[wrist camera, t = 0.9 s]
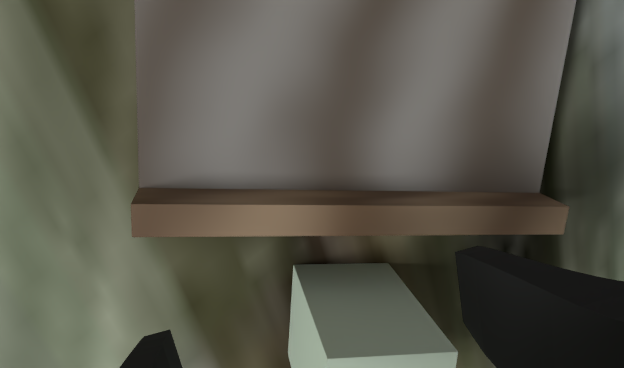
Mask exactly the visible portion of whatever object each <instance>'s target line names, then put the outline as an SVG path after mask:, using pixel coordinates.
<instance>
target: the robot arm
mask: <svg viewBox="0 0 624 368" xmlns="http://www.w3.org/2000/svg"><path fill="white" fill-rule="evenodd" d="M455 254H456V263H457V272H458V280H459V289H460V298H461V307H462V315H463V322H464V324H465V325H466V327H467V328H468V330H469V331H470V333H471V334H472V336H473V338H474V339H475V341H476V342H477V344H478V345H479V346H480V348H481V349H482V351H483V352H484V354H485V355H486V356H487V357H488V358H489V360H490V361H491V362H492V363H493V364H494V365H495V366H496V368H624V282H623V281H617V280H612V279H606V278H601V277H596V276H592V275H588V274H583V273H579V272H575V271H571V270H567V269H563V268H559V267H555V266H551V265H548V264H544V263H541V262H537V261H534V260H530V259H527V258H523V257H520V256H516V255H513V254H509V253H506V252H502V251H498V250H495V249H491V248H486V247H481V246H476V247H472V248H468V249H465V250H461V251H457V252H455ZM120 368H182V365H181V362H180V359H179V356H178V353H177V350H176V347H175V343H174V340H173V337H172V334H171V331H170V330H166V331H163V332H159V333H155V334H152V335H148V336H144V337H143V338H142V339H141V341H140V342H139V343H138V344H137V345H136V347H135V348H134V349H133V351H132V352H131V353H130V355H129V356H128V357H127V358H126V360H125V361H124V362H123V364H122V365H121V366H120Z"/></svg>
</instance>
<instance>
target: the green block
mask: <svg viewBox="0 0 624 368" xmlns="http://www.w3.org/2000/svg"><path fill="white" fill-rule="evenodd" d="M457 355H458V351H457V350H456V349H455V347H454V346H453V345H452V343H451V342H450V341H449V340H448V338H447V337H446V336H445V335H444V333H443V332H442V331H441V329H440V328H439V327H438V326H437V324H436V323H435V322H434V321H433V319H432V318H431V317H430V316H429V314H428V313H427V312H426V310H425V309H424V308H423V307H422V305H421V304H420V303H419V302H418V300H417V299H416V298H415V296H414V295H413V294H412V293H411V291H410V290H409V289H408V288H407V286H406V285H405V284H404V283H403V281H402V280H401V279H400V277H399V276H398V275H397V274H396V272H395V271H394V270H393V269H392V267H391V266H390V265H389V263H359V264H303V265H294V266H293V282H292V298H291V314H290V330H289V346H288V356H289V360H290V364H291V368H456V361H457Z"/></svg>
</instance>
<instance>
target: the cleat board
mask: <svg viewBox="0 0 624 368" xmlns="http://www.w3.org/2000/svg"><path fill="white" fill-rule="evenodd" d="M575 5H576V0H135V38H136V80H137V122H138V164H139V189H138V191H137V193H136V195H135V197H134V199H133V201H132V203H131V222H132V237H221V236H380V235H540V234H564V230H565V225H566V221H567V216H568V211H569V206H567V205H565V204H562V203H560V202H558V201H556V200H554V199H552V198H549V197H547V196H545V195H543V194H541V193H539V192H540V186H541V181H542V176H543V171H544V166H545V160H546V155H547V150H548V145H549V140H550V134H551V129H552V124H553V119H554V114H555V109H556V103H557V98H558V93H559V88H560V83H561V77H562V72H563V67H564V62H565V57H566V51H567V46H568V41H569V36H570V31H571V25H572V20H573V15H574V10H575Z"/></svg>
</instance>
